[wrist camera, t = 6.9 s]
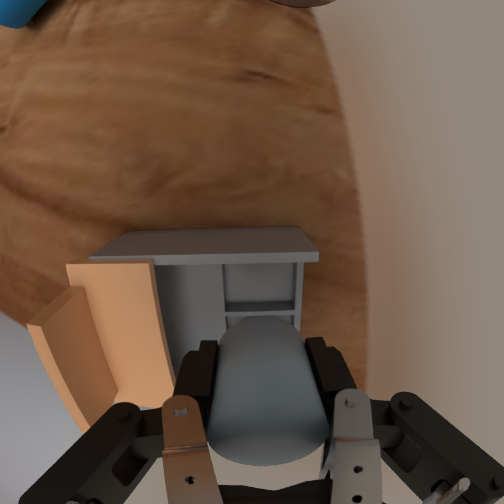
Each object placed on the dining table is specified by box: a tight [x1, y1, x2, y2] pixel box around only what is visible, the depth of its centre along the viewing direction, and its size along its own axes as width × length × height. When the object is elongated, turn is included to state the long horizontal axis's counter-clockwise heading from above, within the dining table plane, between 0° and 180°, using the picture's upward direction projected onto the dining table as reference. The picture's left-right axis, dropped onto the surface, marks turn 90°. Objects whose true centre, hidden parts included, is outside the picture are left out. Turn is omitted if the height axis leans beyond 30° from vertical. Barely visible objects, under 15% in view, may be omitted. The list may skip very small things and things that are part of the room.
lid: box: [27, 259, 176, 434], centre depth 15 cm, size 6×12×6 cm, turn 1°
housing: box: [89, 226, 319, 380], centre depth 21 cm, size 14×12×7 cm
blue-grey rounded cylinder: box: [207, 316, 329, 466], centre depth 10 cm, size 4×4×5 cm
